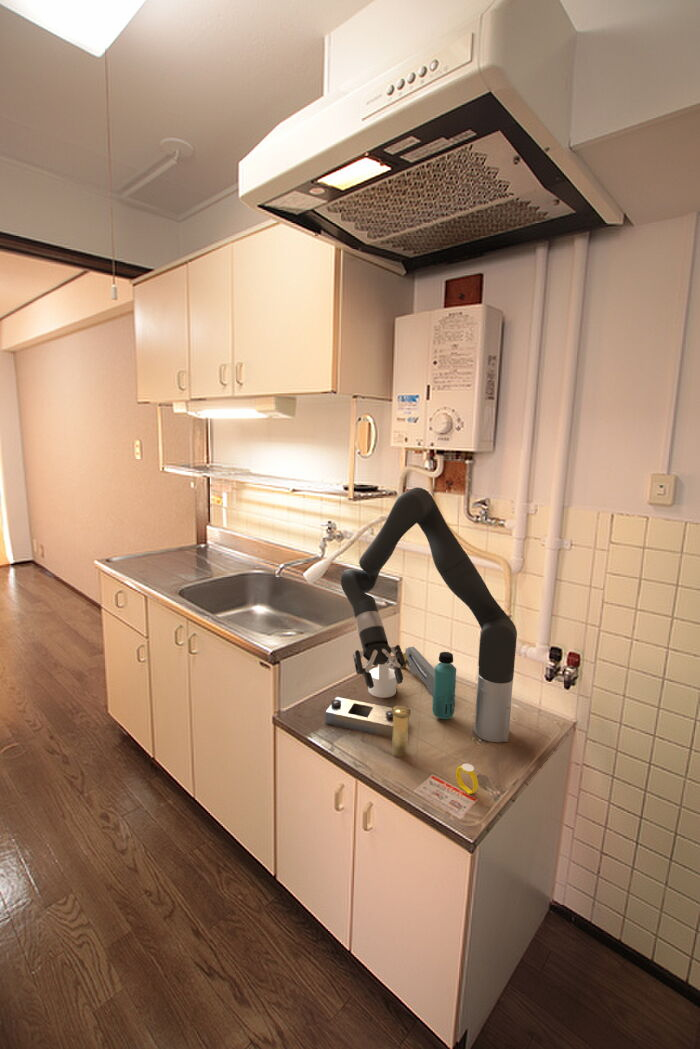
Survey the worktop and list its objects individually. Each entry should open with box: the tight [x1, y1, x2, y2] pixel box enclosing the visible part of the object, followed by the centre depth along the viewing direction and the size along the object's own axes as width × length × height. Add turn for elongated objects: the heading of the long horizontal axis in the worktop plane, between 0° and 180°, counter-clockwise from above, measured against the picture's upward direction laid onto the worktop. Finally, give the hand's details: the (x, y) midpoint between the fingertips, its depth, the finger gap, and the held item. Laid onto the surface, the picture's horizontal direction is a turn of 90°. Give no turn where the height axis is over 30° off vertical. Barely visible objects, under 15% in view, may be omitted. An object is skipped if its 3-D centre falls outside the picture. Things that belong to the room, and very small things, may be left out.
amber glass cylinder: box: [391, 705, 412, 758], centre depth 129 cm, size 5×5×12 cm
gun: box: [401, 646, 435, 697], centre depth 169 cm, size 3×25×15 cm, turn 25°
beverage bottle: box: [431, 651, 457, 720], centre depth 146 cm, size 6×7×20 cm
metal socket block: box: [324, 696, 393, 739], centre depth 143 cm, size 21×9×5 cm, turn 71°
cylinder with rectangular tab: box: [367, 659, 397, 698], centre depth 162 cm, size 9×9×12 cm
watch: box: [455, 763, 479, 795], centre depth 117 cm, size 6×3×6 cm, turn 31°
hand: (386, 685), depth 137 cm, fingers open, 8 cm apart
